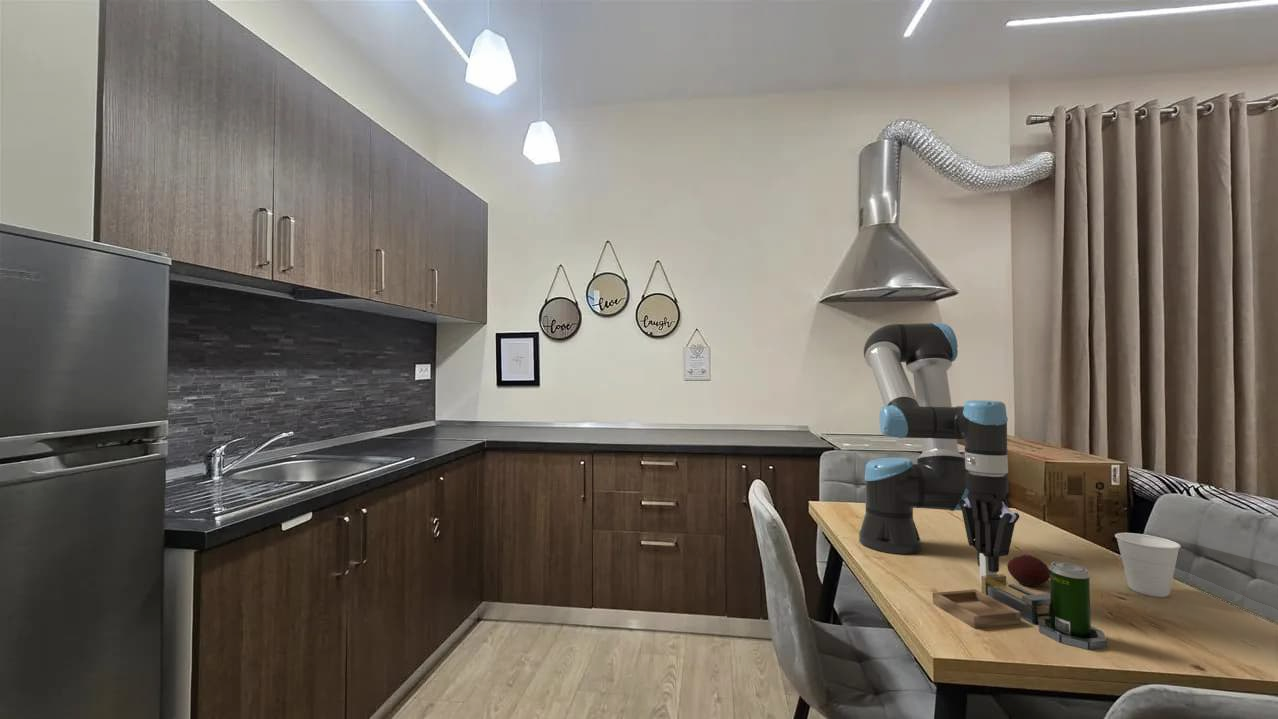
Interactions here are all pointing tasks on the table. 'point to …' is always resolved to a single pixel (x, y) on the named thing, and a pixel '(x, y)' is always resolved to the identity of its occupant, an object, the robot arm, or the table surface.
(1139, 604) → the table surface
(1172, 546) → the cup
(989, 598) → the brown wooden square frame
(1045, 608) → the tan block
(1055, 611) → the beer can
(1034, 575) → the potato
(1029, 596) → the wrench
